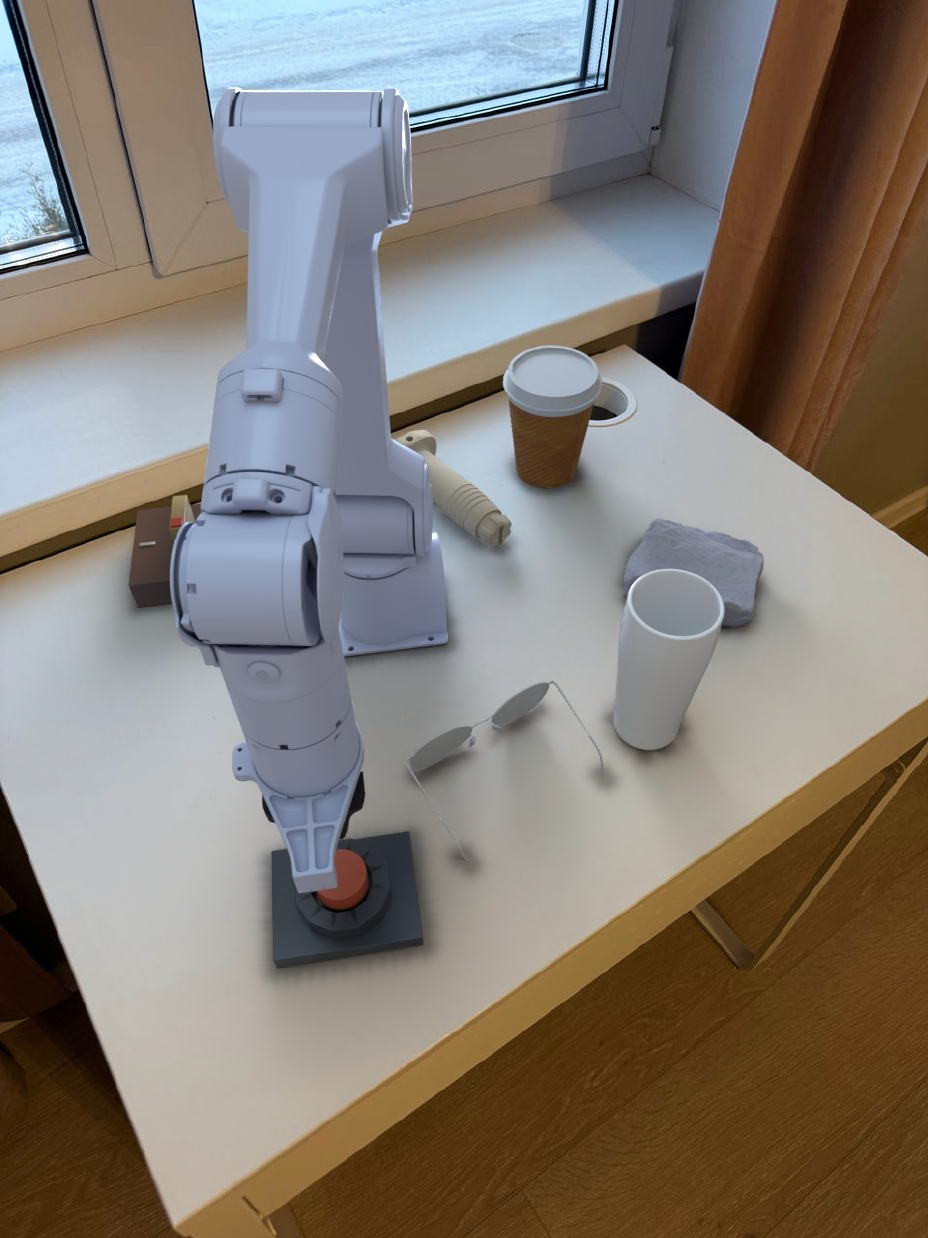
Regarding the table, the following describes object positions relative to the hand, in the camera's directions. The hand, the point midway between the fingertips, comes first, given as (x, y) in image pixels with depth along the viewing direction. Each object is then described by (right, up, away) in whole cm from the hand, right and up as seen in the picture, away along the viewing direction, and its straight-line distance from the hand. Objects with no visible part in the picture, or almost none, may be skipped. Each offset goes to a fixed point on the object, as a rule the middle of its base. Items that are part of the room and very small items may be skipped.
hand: (328, 831), depth 55 cm
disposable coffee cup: (+17, +29, +39) cm, 51 cm away
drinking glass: (+23, +4, +17) cm, 29 cm away
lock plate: (-17, +19, +30) cm, 39 cm away
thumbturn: (-17, +21, +28) cm, 39 cm away
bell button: (0, -5, +6) cm, 8 cm away
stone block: (+30, +17, +28) cm, 44 cm away
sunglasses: (+12, +1, +14) cm, 19 cm away
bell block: (0, -7, +8) cm, 10 cm away
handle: (+12, +21, +30) cm, 38 cm away
